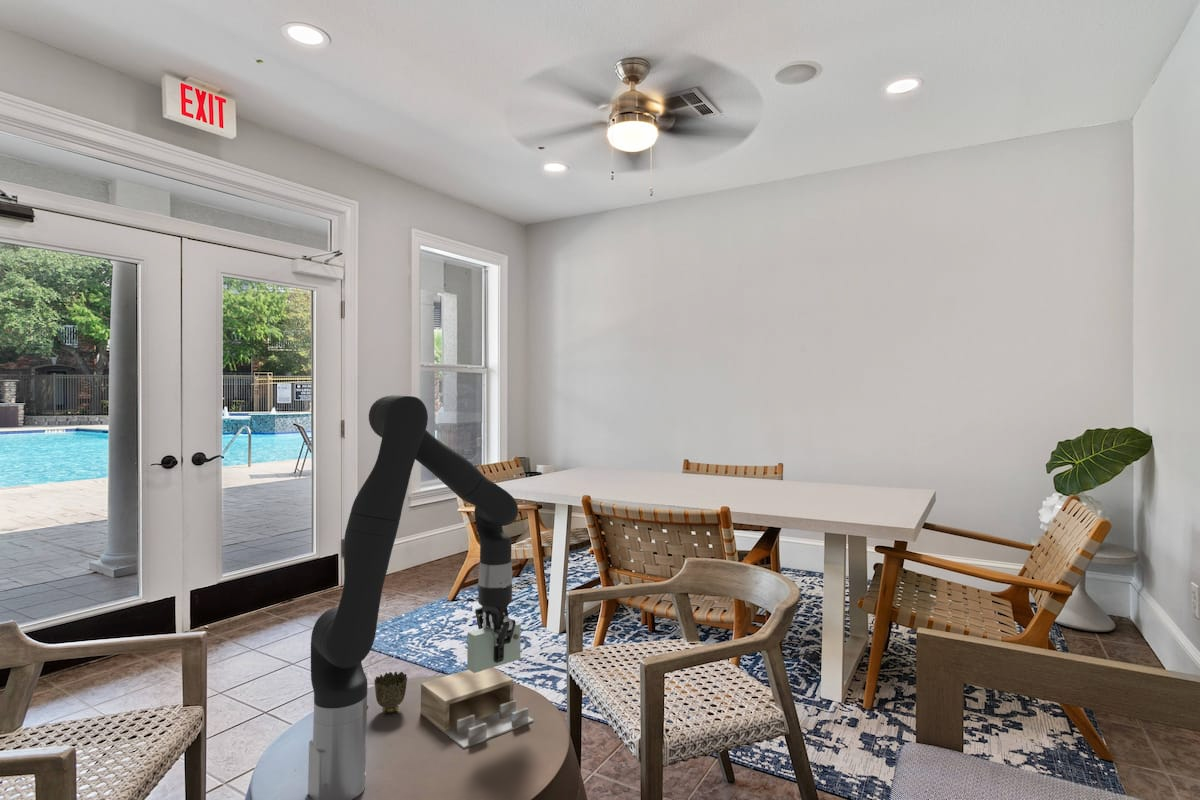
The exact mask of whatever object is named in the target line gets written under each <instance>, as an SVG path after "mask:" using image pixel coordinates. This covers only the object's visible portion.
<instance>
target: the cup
mask: <svg viewBox="0 0 1200 800" xmlns="http://www.w3.org/2000/svg"><path fill="white" fill-rule="evenodd" d="M407 682H408V676H407V673H404V672H403V671H401V672H399V673H398V672H397V671H394V673H393V672H385V674H384V675H382V674H380V676H375V678H374V690H375V692H374V693H375V698H376V702H377V704H378V705H379V706H380V707H382V708H381V710H382V712H383V714H386V715H392V714H395V713H396V712H398V710H399V708H400V707H399V705H400V704H402V702H403V701H404V698H405V696H406V691H407V690H406V689H407V685H408V684H407Z"/></svg>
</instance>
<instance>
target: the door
mask: <svg viewBox="0 0 1200 800" xmlns="http://www.w3.org/2000/svg"><path fill="white" fill-rule="evenodd" d="M515 622H516V625H515V628H514V632H513V635H512V638H511V642H510V643H508V644H505V645H504V659H503V661H501V662H498V663H496V662H494V636H493V635H492V631H491V627H488V628H482V629H479V628H478V629H475V630H471V631H467V656H466V657H467V658H466V659H467V660H466V662H467V663H466V668H467V669H466V670H470V671H472V672H473V673H476V672H480V671H483V670H486V669H489V668H493V667H494V668H496V667H499V666H502V665H505V664H509V663H512V662H515V661H519V660H521V634H522V633H521V632H522V631H521V625H522V623H519V622H518V621H515ZM501 629H502V628H500V629H496V631H497V630H501ZM499 637H500V634H499V635H498V640H499Z"/></svg>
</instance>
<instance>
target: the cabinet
mask: <svg viewBox="0 0 1200 800" xmlns="http://www.w3.org/2000/svg"><path fill="white" fill-rule="evenodd" d="M514 682H515V679H514V678H512V677H511V676H509V675H507V674H506V673H504V672H502V671H501V670H498V669H497V668H496V667H493V668H489V669H486V670H483V671H480V672H476V673H473V672H472V671H470V670H468V669H466V670H462V671H459V672H455V673H452V674H449V675H446V676H442V677H438V678H434V679H432V680H428V681H425V682H422V683H420V715H422V716H423V717H424V718H425V719H427V720H428V721H429V722H430V723H432V725H434V726H435V727H436V728H437V729H439V730H440V731H441V732H442V733H444V734H445V735H446V736H447V737H449V738H450V739H451V740H452V741H454V742H455V743H456V744H457V745H458V746H460V747H461V748H463V749H464V750H465V749H467V748H469V747H472V746H475V745H477V744H480V743H483V742H484V741H485V742H486V741H488V740H490V739H493V738H495V737H498V736H500V735H503V734H506V733H508V732H510V731H513V730H517V729H518V728H522V727H525V726H526V725H529V724H532V723H534V719H533V718H531V717H530V716H529V708H528V707H524V708H521V709H518V708H517V700H515V699H514V685H515V684H514Z"/></svg>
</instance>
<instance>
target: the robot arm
mask: <svg viewBox="0 0 1200 800" xmlns="http://www.w3.org/2000/svg"><path fill="white" fill-rule="evenodd" d="M428 415H429V413H428V410H427V407H426V404H425V403H424V402H423V400H421V399H420V398H419V397H417V396H415V395H411V394H410V395H409V394H394V395H393V394H392V395H386V396H382V397H380V398H378V399H377V400H375V402H373V404H372V405H371V406H370V409H369V413H368V421H369V425H370V428H371V430H372V431H373V432H374V434H376V435H377V436H379V437H380V438H381V440H380V442H381V443H380V444H379V445H380V447H379V450H378V454H377V459H376V461H375V464H374V466H373V468H372V469H371V471H370V473H369V475H368V476H367V478H366V480H365V481H364V483H363V484H362V486H361V488H360V489H359V490H358V493H357V495H356V497H355V499H354V500H353V503H352V506H351V510H350V513H349V517H348V521H347V524H346V527H345V528H346V529H345V533H344V538H343V570H344V571H343V574H344V575H343V576H344V578H343V587H342V593H341V597H340V600H339V604H338V606H335V607H332V608H329V609H327V610H326V611H324V612H323V613H322V614H320V616H319V617H318V618H317V619H316V621H315V623H314V625H313V628H312V632H311V637H310V638H311V639H310V681H311V686H312V689H313V723H312V724H313V729H312V739H311V740H309V741H308V770H307V771H308V773H307V776H308V777H307V794H308V795H309V797H310V798H311V800H354V799H355V798H358V797H359V796H360V795H361V794H363V792H364V790H365V788H366V775H367V774H366V769H367V768H366V767H367V762H366V761H367V728H368V727H367V723H368V722H367V717H368V714H367V713H368V709H367V706H368V678H367V676H366V673H365V671H364V667H363V664H362V661H364V660H365V658H367V656H368V655H369V653H370V652H371V650H372V648H373V645H374V642H375V638H376V633H377V628H378V619H379V613H380V606H381V605H380V604H381V599H382V592H383V588H384V584H385V580H386V576H387V573H388V568H389V566H390V565H389V564H390V560H391V555H392V552H393V548H394V545H395V541H396V538H397V532H398V530H399V526H400V522H401V521H400V520H401V516H402V511H403V507H404V503H405V498H406V495H407V492H408V491H407V490H408V487H409V482H410V478H411V474H412V471H413V467H414V465H415V461H417V462H418V463H419V464H421V465H422V466H423V467H425V468H426V469H427V470H428V471H429V472H430V473H432V474H433V475H434V476H435V477H436V478H438V480H440V481H441V482H442V483H443V484H444V485H445V486H446V487H448V488H449V489H450V490H451V491H452V492H453V493H454V494H455V495H457V497H458V498H460V499H461V500H463V501H464V502H466V503H468V504H471V505H474V519H475V526H476V527H475V528H476V531H477V536H478V539H479V548H480V549H479V567H478V581H477V582H478V591H477V595H478V596H477V597H478V601H477V602H478V604H479V605H480V606H481V607H480V608H476V609H475V611H474V612H475V618H476V621H477V622H476V623H477V628H478V629H482V628H488V627H491V631H492V635H493V636H494V662H496V663H498V662H501V661H503V659H504V645H505V644H508V643H510V642H511V638H512V635H513V632H514V628H515V625H516V622H517V621H516V620H515V619H512V620H511V618H510V617H509V610H508V606H509V605H510V604H511V603H512V601H513V566H512V539H511V537H509V535H507V534H506V532H505V531H504V528H503V526H504V527H505V526H509V525H511V524H512V523H514V522H515V521H516V519H517V517H518V515H519V505H518V503H517V500H515V498H514V497H513V496H512V495H511V494H510V493H509V492H508V491H507V490H505V489H504V488H503V487H501V486H499V485H498V484H497V483H495V482H494V481H492V480H490V479H489V478H488V477H486V475H484V474H483V473H482V472H481V470H479V469H478V468H477V467H476V466H475V465H474V464H473V463H472V462H471V461H469V460H468V459H467V458H466V457H464V456H463V455H461V454H460V453H459V452H457V451H456V450H454V449H453V448H451V447H449V446H448V445H446V444H445V443H443V442H442V441H440V440H439V439H437V437H435V436H433V435H432V434H431V433H430V432H429V431H428V430H427V427H428V421H429V417H428ZM500 628H502V629H501V630H497V631H496V629H500ZM499 634H500V637H499V640H498V635H499Z"/></svg>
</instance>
